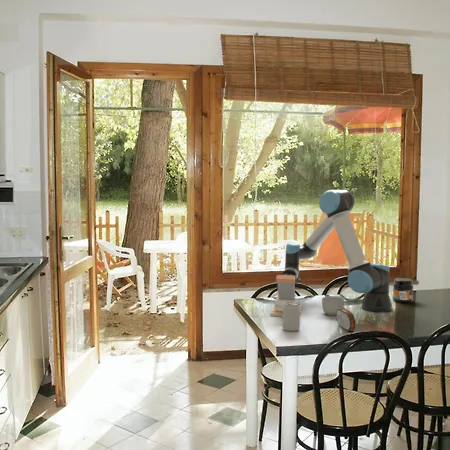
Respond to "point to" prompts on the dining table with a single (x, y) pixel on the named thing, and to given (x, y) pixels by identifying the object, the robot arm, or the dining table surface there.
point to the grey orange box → (286, 286)
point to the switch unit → (281, 306)
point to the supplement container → (403, 290)
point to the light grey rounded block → (332, 304)
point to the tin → (346, 319)
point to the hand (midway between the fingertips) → (284, 284)
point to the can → (291, 316)
